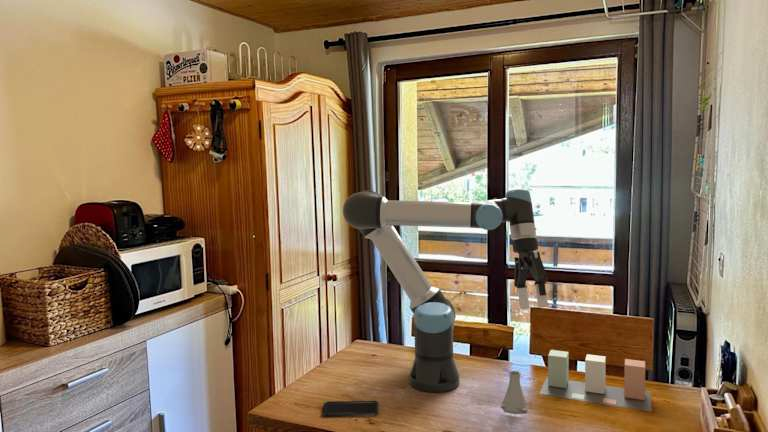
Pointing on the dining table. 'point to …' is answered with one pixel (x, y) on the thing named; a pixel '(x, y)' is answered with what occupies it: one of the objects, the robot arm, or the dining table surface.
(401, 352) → the dining table surface
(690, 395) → the dining table surface
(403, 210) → the robot arm
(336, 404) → the phone
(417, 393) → the dining table surface
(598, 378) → the cream tall block
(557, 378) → the pale green tall block
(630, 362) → the pink tall block
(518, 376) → the flask
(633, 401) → the grey board
